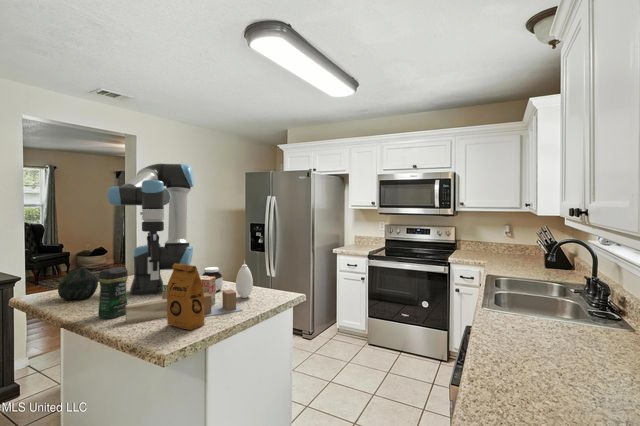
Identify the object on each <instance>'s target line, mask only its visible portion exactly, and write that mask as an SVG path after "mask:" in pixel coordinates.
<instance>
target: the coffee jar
mask: <svg viewBox="0 0 640 426" xmlns="http://www.w3.org/2000/svg"><path fill="white" fill-rule="evenodd" d="M128 272H129V271H128V269H127V267H121V266H116V267H110V268H107V269H101V270H100V271H99V273H98V284H99V286H100V287H99V290H100V291H99V302H98V303H99V305H98V312H97V313H98V314H97V316H98V317H99V318H101V319H104V320H106V319H114V318H118V317H120V316H123V315H126V305H129V304H128V295H127V281H128V277H129V275H128Z"/></svg>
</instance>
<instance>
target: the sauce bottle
mask: <svg viewBox="0 0 640 426" xmlns="http://www.w3.org/2000/svg"><path fill="white" fill-rule="evenodd" d="M245 260H246V259H243V264H242V265H241V267H240V268H239V270H238V272H237V274H236V279H235V290H236V294H237V295H238V296H240V298H242V299H247V298H248V297H249V296H250V295H251V293H252V291H253V288H254V280H253V276H252V271H251V270H250V268H249V266H248V265H247V264H246V261H245Z"/></svg>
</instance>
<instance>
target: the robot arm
mask: <svg viewBox="0 0 640 426" xmlns="http://www.w3.org/2000/svg"><path fill="white" fill-rule="evenodd" d="M194 186H195V179H194V173H193V169H192V167H191V165H189V164H183V163H154V164H150V165H148V166H146V167H143V168H141V169H140V170H139V171H138V172H137V173H136V175H135V176H134V177H133V178H131V179H130V180H128V181H127V182H126V183H125V184H123V185H121V186H119V185H117V186H110V187H109V188H108V190H107V200H108V202H109V204H110V205H112V206H119V207H121V206H141V211H140V212H139V215H141V220H142V222H141V231H142V232H146V233H147V235H146V241H147V242H146V245H145V244H144V245H139V246H137V247H135V248H134V250H133V279H132V282H131V284H130V287H129V294H130V295H135V296H146V295H147V296H148V295H153V294H154V295H155V294H158V293H162V285H163V284H164V282H163V279H162V276H161V271H162V270H163V271H164V270H165V271H167V270H170V271H171V270H172V271H173V270H174V268H172V266H173V265H174V264H184V265H191V263H192V258H193V250H194V248H193V245H190V241H189V240H188V239H187V228H188V227H187V225H188V224H187V222H188V221H187V220H188V194H189V192H191V189H192V188H194ZM167 205H168V229H167V230H168V232H167V234H168V236H167V240H166V241H165V242H164V246H161V243H160V235H159V234H158V232H163V231H164V230H165V223H164V219H165V207H164V206H167Z"/></svg>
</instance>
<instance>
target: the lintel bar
mask: <svg viewBox="0 0 640 426" xmlns="http://www.w3.org/2000/svg"><path fill="white" fill-rule="evenodd" d="M161 318H167V299H163V300H162V299H157V300H151V301H143V302H139V303H138V302H137V303H131V304H128V305H126V314H125V322H126V324H132V323H137V322H138V323H139V322H144V321H149V320H154V319H161Z"/></svg>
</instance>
